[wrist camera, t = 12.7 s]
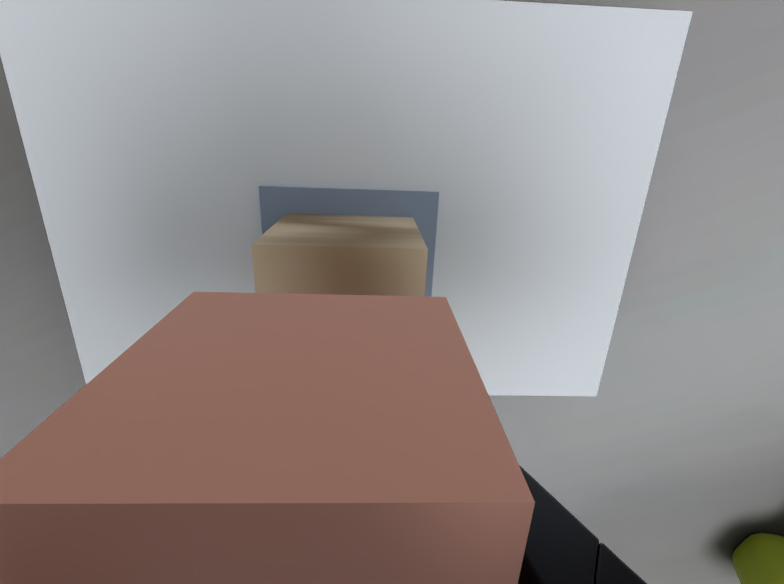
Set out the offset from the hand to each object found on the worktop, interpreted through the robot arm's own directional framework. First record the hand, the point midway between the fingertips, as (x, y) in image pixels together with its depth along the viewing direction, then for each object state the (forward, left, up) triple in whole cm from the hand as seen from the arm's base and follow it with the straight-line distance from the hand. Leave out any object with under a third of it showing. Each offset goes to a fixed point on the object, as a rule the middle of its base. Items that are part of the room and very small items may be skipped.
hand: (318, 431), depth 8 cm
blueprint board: (0, +2, -11) cm, 11 cm away
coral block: (0, 0, -1) cm, 1 cm away
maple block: (0, 0, -10) cm, 10 cm away
